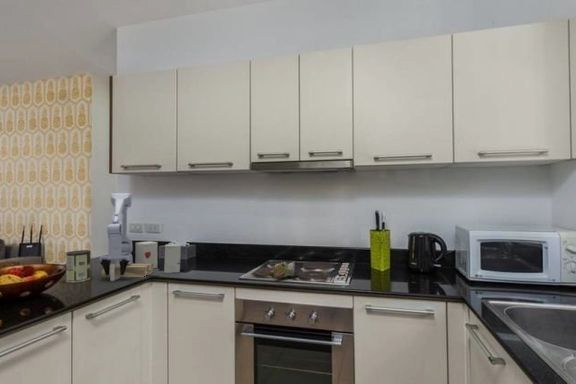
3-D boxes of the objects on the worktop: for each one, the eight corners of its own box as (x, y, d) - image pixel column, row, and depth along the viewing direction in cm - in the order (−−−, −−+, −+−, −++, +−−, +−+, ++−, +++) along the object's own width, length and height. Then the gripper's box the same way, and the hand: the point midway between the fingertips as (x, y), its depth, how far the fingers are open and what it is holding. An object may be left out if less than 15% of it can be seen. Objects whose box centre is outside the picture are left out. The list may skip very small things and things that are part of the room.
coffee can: (79, 277, 169) (79, 249, 169) (95, 278, 166) (95, 250, 166) (60, 282, 159) (60, 252, 159) (77, 283, 156) (77, 253, 156)
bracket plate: (115, 278, 165) (115, 262, 165) (119, 278, 165) (119, 262, 165) (110, 280, 160) (110, 264, 160) (114, 280, 160) (114, 264, 160)
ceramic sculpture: (299, 260, 164) (273, 265, 156) (300, 277, 164) (274, 283, 156) (289, 257, 173) (263, 261, 166) (290, 273, 173) (264, 278, 166)
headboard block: (113, 272, 179) (113, 263, 179) (152, 272, 178) (152, 263, 178) (101, 277, 168) (101, 267, 168) (143, 277, 167) (143, 267, 167)
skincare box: (164, 273, 176) (164, 245, 176) (164, 271, 181) (164, 244, 182) (180, 272, 178) (180, 245, 178) (180, 270, 184) (180, 243, 184)
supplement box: (143, 270, 183) (143, 243, 183) (134, 268, 188) (134, 242, 189) (158, 267, 190) (158, 242, 191) (149, 266, 196) (149, 240, 196)
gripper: (95, 248, 159) (95, 276, 159) (124, 248, 159) (124, 276, 158) (104, 246, 166) (104, 273, 166) (132, 246, 166) (132, 273, 165)
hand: (114, 274), depth 163 cm, fingers open, 7 cm apart
